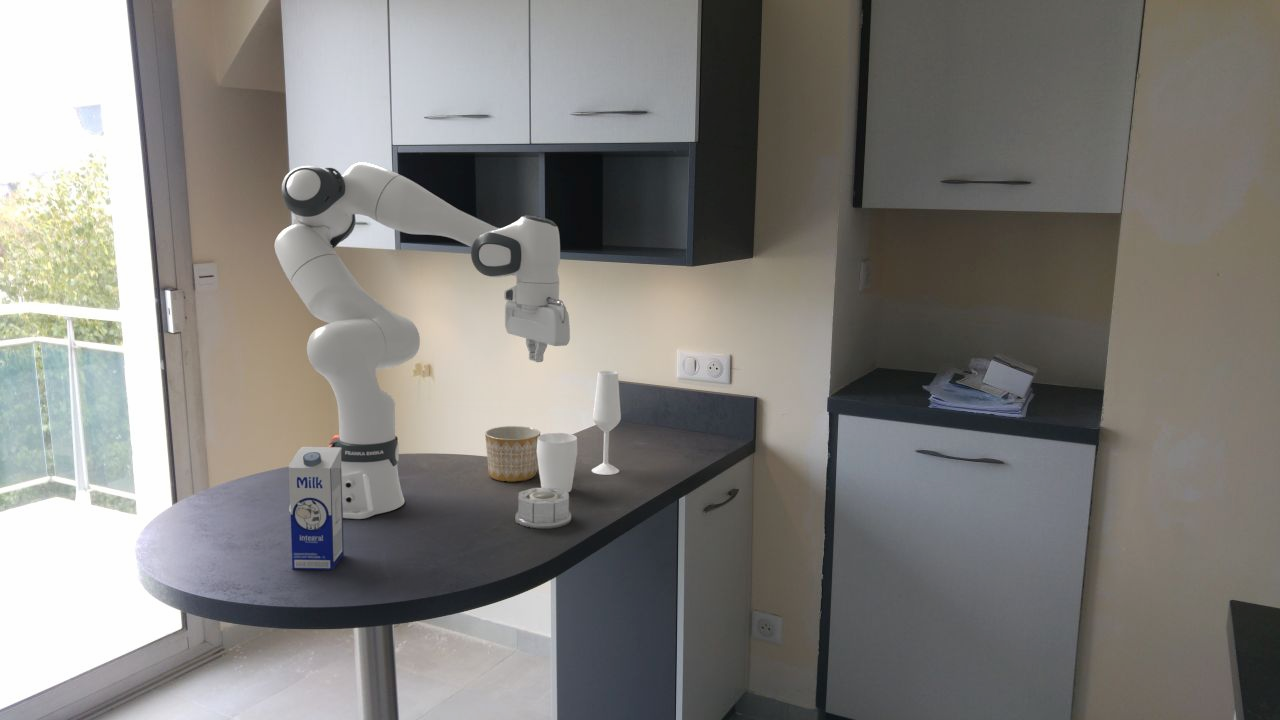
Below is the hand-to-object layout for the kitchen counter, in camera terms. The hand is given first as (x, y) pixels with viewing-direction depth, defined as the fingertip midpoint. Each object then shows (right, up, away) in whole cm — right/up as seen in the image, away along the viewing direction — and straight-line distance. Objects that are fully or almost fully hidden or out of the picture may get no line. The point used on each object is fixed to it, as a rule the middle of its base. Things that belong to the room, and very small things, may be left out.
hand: (536, 361), depth 190 cm
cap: (+2, -31, -8) cm, 32 cm away
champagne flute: (+14, -27, +28) cm, 41 cm away
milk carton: (-34, -35, -32) cm, 59 cm away
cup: (+3, -29, +12) cm, 31 cm away
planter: (-8, -27, +21) cm, 35 cm away
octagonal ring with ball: (+2, -32, -7) cm, 33 cm away
